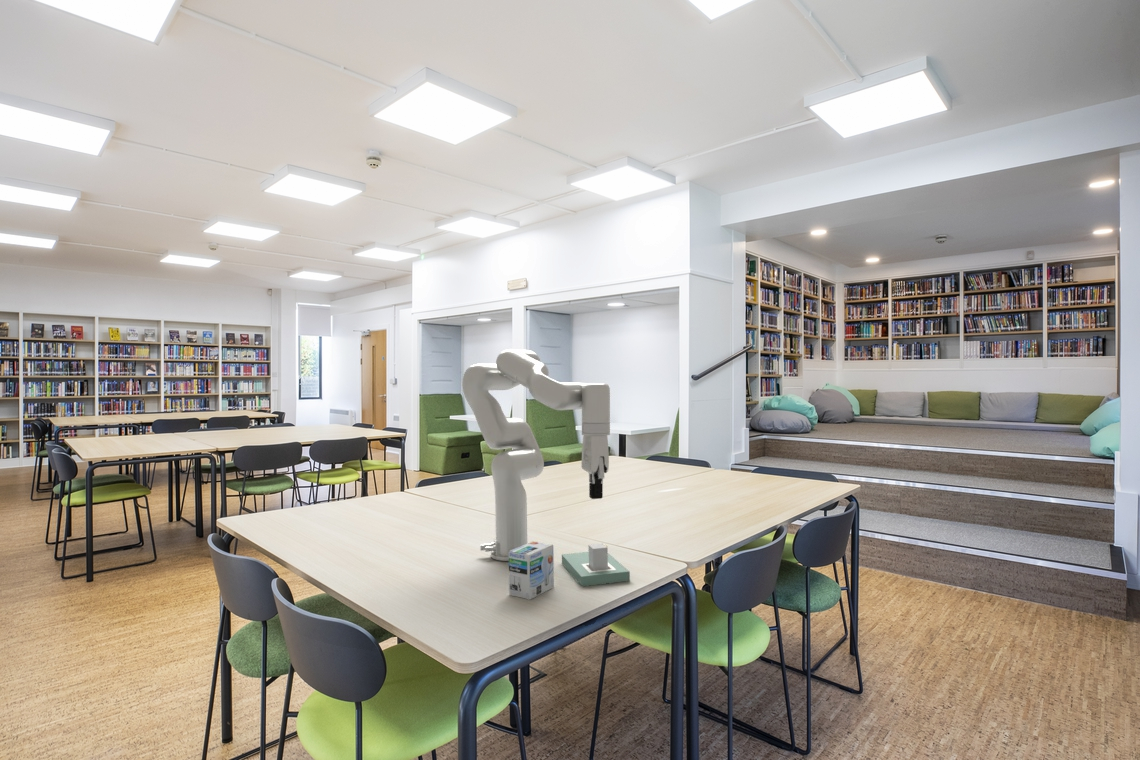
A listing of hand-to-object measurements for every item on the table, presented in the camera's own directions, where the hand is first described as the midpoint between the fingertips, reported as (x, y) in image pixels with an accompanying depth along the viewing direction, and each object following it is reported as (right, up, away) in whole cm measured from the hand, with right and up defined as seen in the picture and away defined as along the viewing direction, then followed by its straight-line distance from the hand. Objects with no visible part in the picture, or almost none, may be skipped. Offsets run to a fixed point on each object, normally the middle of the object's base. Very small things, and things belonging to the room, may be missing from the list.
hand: (595, 497), depth 149 cm
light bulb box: (-16, -21, -10) cm, 29 cm away
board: (0, -21, +3) cm, 21 cm away
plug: (+1, -21, -1) cm, 21 cm away
